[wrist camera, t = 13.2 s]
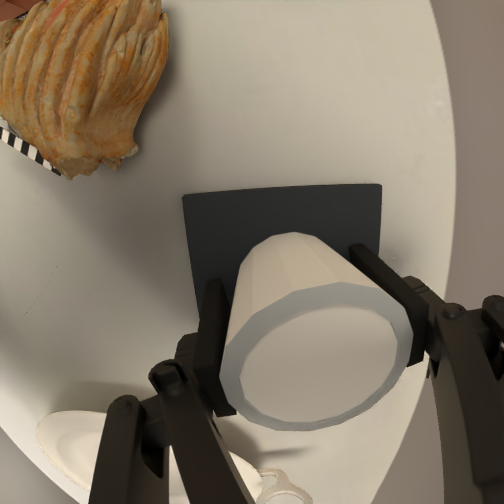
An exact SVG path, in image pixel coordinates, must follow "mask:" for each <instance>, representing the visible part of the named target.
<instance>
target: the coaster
mask: <svg viewBox="0 0 504 504" xmlns="http://www.w3.org/2000/svg"><path fill="white" fill-rule="evenodd" d="M182 202H183V211H184V219H185V226H186V234H187V241H188V248H189V255H190V262H191V269H192V275H193V282H194V288H195V294H196V300H197V306H198V312H199V318H200V316H201V310H202V304H203V298H204V293H205V287H206V282H208V281H212V280H216V279H220V278H221V281H222V284H223V287H224V290H225V293H226V297H227V300H228V303H229V306H230V309H232V304H233V298H234V293H235V287H236V282H237V278H238V273H239V269H240V265H241V263H242V262H243V261H244V259H245V258H246V257H247V255H248V254H249V252H250V251H251V250H252V248H253V247H255V246H256V245H258V244H260V243H261V242H263V241H265V240H266V239H268V238H269V237H271V236H274V235H279V234H285V233H290V232H297V233H302V234H307V235H311V236H315V237H317V238H318V239H319V240H321V241H322V242H324V243H325V244H326V245H328V246H329V247H330V248H332V249H333V250H334V251H335V252H337V253H338V254H339V255H341V256H342V257H343V258H344V259H346V260H347V261H348V262H349V263H351V260H350V251H349V246H352V245H356V244H359V243H363V244H364V245H365V246H366V247H367V248H369V249H370V250H371V251H372V252H373V253H374V254H375V255H377V256H378V254H379V241H380V226H381V205H382V185H380V184H338V185H310V186H289V187H272V188H256V189H243V190H230V191H219V192H208V193H197V194H188V195H183V196H182Z"/></svg>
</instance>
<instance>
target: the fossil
mask: <svg viewBox="0 0 504 504" xmlns="http://www.w3.org/2000/svg"><path fill="white" fill-rule="evenodd" d="M160 13H161V0H51V2H50V3H47V2H46V1H41V2H39V3H37V4H36V5H34V6H33V7H32V8H31V9H30V11H29V12H28V14H27V16H26V19H24V20H19V19H10V20H6V21H3V22H0V116H2V118H3V119H4V120H6V121H7V122H8V124H9V125H10V126H11V127H12V129H13V130H14V131H15V132H16V133H17V134H18V135H19V136H20V137H21V138H22V139H23V140H22V139H20V138H19V137H17V136H15V135H14V134H12V133H10V132H9V131H7V130H5V129H4V128H2V127H0V139H1V140H2V141H4V142H6V143H7V144H9V145H10V146H12V147H13V148H15V149H17V150H18V151H20V152H21V153H23V154H25V155H26V156H28V157H29V158H31V159H33V160H34V161H36V162H38V163H39V164H41V165H42V166H44V167H46V168H47V169H49V170H51V171H52V172H54V173H56V174H57V175H59V176H61V173H62V174H63V175H64V176H65V177H66V178H67V180H72V179H73V177H74V176H77V175H78V174H82V175H87V176H90V175H91V174H92V172H93V171H95V170H97V168H98V166H99V163H101V162H102V163H105V164H106V165H107V166H108V167H109V168H110V169H112V170H114V171H117V170H118V167H119V166H121V159H125V157H128V158H130V157H132V155H134V154H136V153H137V152H138V146H137V145H136V144H135V142H134V137H133V133H134V129H135V126H136V123H137V120H138V118H139V116H140V113H141V111H142V109H143V107H144V105H145V104H146V102H147V101H148V99H149V98H150V96H151V95H152V93H153V91H154V90H155V88H156V85H157V83H158V81H159V79H160V76H161V73H162V71H163V69H164V67H165V65H166V62H167V56H168V48H169V26H168V16H167V14H166V13H164V12H163V13H161V15H160ZM24 140H26V141H27V142H28V143H27V142H26V141H24ZM34 146H35V147H34Z"/></svg>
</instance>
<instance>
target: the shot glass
mask: <svg viewBox="0 0 504 504" xmlns="http://www.w3.org/2000/svg"><path fill="white" fill-rule="evenodd" d="M412 340H413V331H412V328H411V325H410V322H409V319H408V316H407V314H406V311H405V308H404V307H403V306H402V305H401V304H399V303H398V302H397V301H396V300H395V299H393V298H392V297H391V296H390V295H389V294H387V293H386V292H385V291H384V290H383V289H381V288H380V287H379V286H378V285H377V284H375V283H374V282H373V281H372V280H370V279H369V278H368V277H367V276H366V275H364V274H363V273H362V272H361V271H359V270H358V269H357V268H356V267H354V266H353V265H352V264H351V263H349V262H348V261H347V260H346V259H344V258H343V257H342V256H341V255H339V254H338V253H337V252H335V251H334V250H333V249H332V248H330V247H329V246H328V245H326V244H325V243H324V242H322V241H321V240H319V239H318V238H317V237H315V236H311V235H307V234H302V233H297V232H290V233H285V234H279V235H274V236H271V237H269V238H268V239H266V240H265V241H263V242H261V243H260V244H258V245H256V246H255V247H253V248H252V250H251V251H250V252H249V254H248V255H247V257H246V258H245V259H244V261H243V262H242V263H241V265H240V269H239V273H238V278H237V282H236V287H235V293H234V298H233V304H232V309H231V314H230V320H229V325H228V331H227V336H226V342H225V347H224V353H223V358H222V364H221V370H220V375H219V378H220V381H221V384H222V387H223V390H224V392H225V395H226V398H227V401H228V403H229V404H230V405H231V406H232V407H233V408H235V409H236V410H237V411H238V412H239V413H240V414H242V415H243V416H244V417H245V418H246V419H247V420H249V421H251V422H253V423H256V424H259V425H262V426H265V427H268V428H271V429H274V430H279V431H312V430H316V429H321V428H325V427H329V426H333V425H337V424H341V423H343V422H345V421H347V420H349V419H351V418H353V417H355V416H357V415H359V414H361V413H362V412H364V411H366V410H368V409H370V408H371V407H372V406H373V405H374V404H375V403H377V402H378V401H379V400H380V399H381V398H382V397H383V396H384V395H386V394H387V393H388V392H389V391H390V390H391V389H392V388H393V387H394V385H395V384H396V382H397V381H398V379H399V377H400V376H401V374H402V372H403V371H404V369H405V367H406V366H407V364H408V362H409V358H410V352H411V346H412Z"/></svg>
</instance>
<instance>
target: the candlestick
mask: <svg viewBox="0 0 504 504" xmlns="http://www.w3.org/2000/svg"><path fill="white" fill-rule="evenodd" d="M106 415H107V413H100V412H92V411H60V412H55V413H52V414H49V415H47V416H45V417H44V418H43V419H42V420H41V421H40V422H39V424H38V426H37V430H36V434H37V439H38V442H39V445H40V447H41V449H42V450H43V452H44V453H45V455H46V456H47V458H48V459H49V460H50V461H51V462H52V463H53V465H54V466H55V467H56V468H57V469H58V470H60V471H61V472H62V473H63V474H64V475H65V476H67V477H68V478H69V479H71V480H72V481H73V482H75V483H76V484H78V485H79V486H81V487H82V488H84V489H86V490H87V491H89V492H90V490H91V485H92V479H93V474H94V469H95V464H96V459H97V454H98V449H99V445H100V440H101V436H102V432H103V427H104V423H105V419H106ZM229 453H230V455H231V457H232V459H233V461H234V463H235V465H236V467H237V469H238V471H239V473H240V475H241V477H242V479H243V481H244V483H245V484H246V486H247V488H248V490H249V492H250V494H251V496H252V497H253V499H254V501H255V500H256V499H257V500H256V502H255V503H256V504H265V503H266V502H267V501H268V500H269V499H270V498H272V497H274V496H276V495H279V494H291V495H294V496H297V497H298V498H300V499H301V500H302V501H303V502H304V504H313V501H312V498H311V497H310V495H309V494H308V493H307V492H306V491H304V490H303V489H301V488H299V487H297V486H295V485H293V484H292V483H290V482H289V480H288V478H287V475H286V474H285V472H284V471H282V470H281V469H277V468H263V469H255V468H254V467H253V466H252V465H250V464H249V463H248V462H247V461H245V460H244V459H242V458H241V457H239V456H237V455H236V454H234V453H232V452H230V451H229ZM265 476H275V477H276V478H277V479H278V481H277V483H276V484H275V485H274V486H272V487H271V488H269V489H267V490H265V491H264V492H263V493H262V490H263V481H262V478H261V477H265ZM261 493H262V494H261ZM260 494H261V495H260ZM169 504H190V503H189V500H188V497H187V494H186V491H185V488H184V485H183V482H182V479H181V476H180V473H179V470H178V467H177V464H176V460H175V457H174V453H173V450H172V447H171V446H170V453H169Z"/></svg>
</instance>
